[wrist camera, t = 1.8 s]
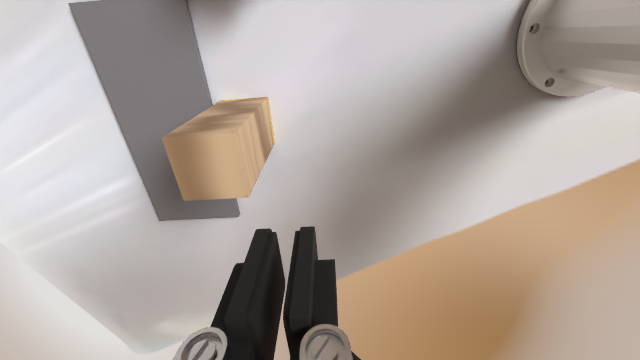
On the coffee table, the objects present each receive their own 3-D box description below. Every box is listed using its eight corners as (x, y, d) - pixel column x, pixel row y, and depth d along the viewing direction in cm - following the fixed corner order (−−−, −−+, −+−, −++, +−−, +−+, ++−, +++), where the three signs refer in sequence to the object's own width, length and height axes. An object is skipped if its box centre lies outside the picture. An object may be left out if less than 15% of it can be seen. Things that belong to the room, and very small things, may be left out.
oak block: (267, 97, 29) (234, 133, 18) (274, 142, 31) (248, 197, 21) (221, 100, 29) (161, 138, 19) (231, 144, 32) (183, 200, 21)
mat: (184, -7, 25) (181, -7, 24) (240, 214, 36) (238, 216, 35) (73, 4, 25) (68, 3, 25) (161, 217, 36) (159, 220, 36)
